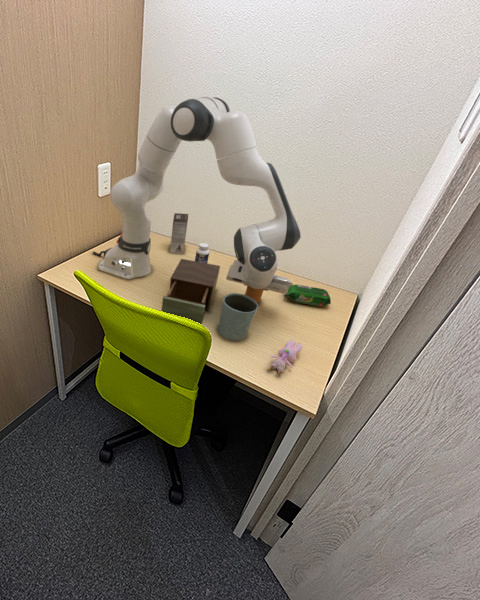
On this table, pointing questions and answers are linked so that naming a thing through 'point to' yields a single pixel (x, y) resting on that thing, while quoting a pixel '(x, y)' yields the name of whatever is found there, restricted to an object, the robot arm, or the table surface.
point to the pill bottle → (202, 253)
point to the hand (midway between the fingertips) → (255, 286)
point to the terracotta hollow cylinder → (254, 293)
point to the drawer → (186, 301)
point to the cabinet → (197, 276)
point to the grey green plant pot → (236, 316)
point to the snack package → (308, 295)
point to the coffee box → (178, 233)
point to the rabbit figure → (286, 356)
